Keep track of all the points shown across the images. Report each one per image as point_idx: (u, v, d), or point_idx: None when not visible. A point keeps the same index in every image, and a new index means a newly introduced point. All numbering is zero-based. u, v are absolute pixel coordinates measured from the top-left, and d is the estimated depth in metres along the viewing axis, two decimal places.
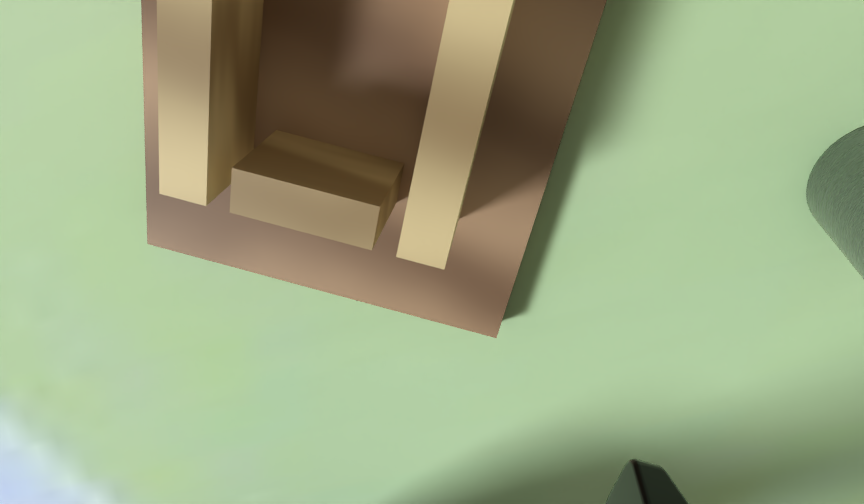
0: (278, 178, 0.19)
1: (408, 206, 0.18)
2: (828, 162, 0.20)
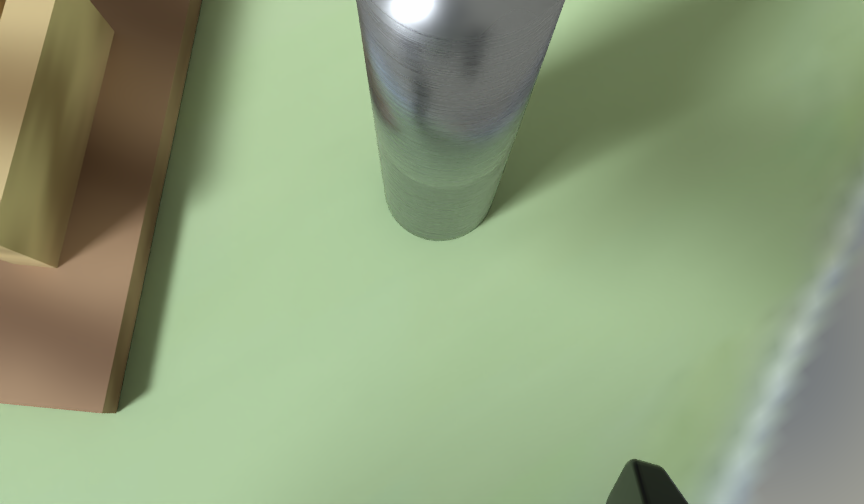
0: None
1: None
2: None
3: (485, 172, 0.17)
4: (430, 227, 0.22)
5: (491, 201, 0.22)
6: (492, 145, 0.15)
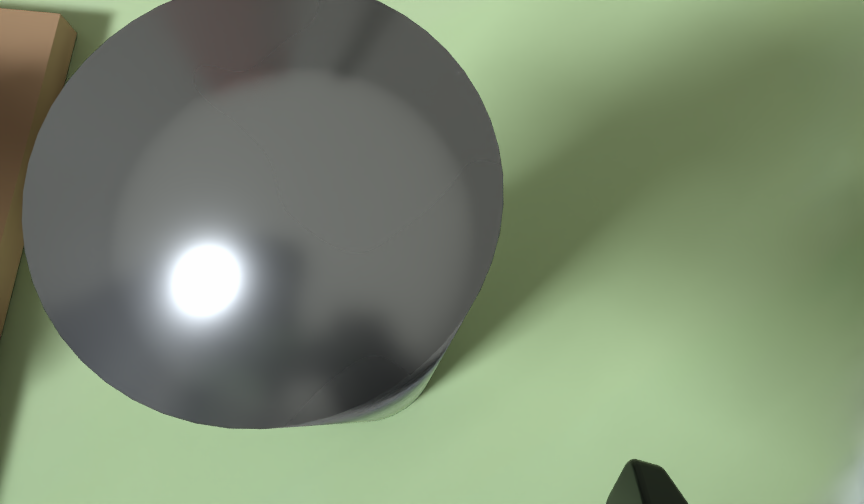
0: None
1: None
2: None
3: (400, 405, 0.12)
4: None
5: None
6: (397, 403, 0.10)
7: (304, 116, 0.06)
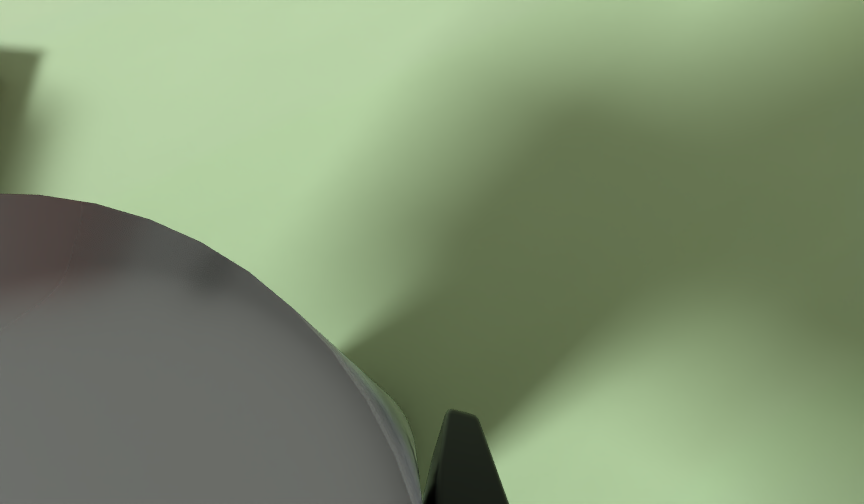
0: None
1: None
2: None
3: None
4: None
5: None
6: None
7: None
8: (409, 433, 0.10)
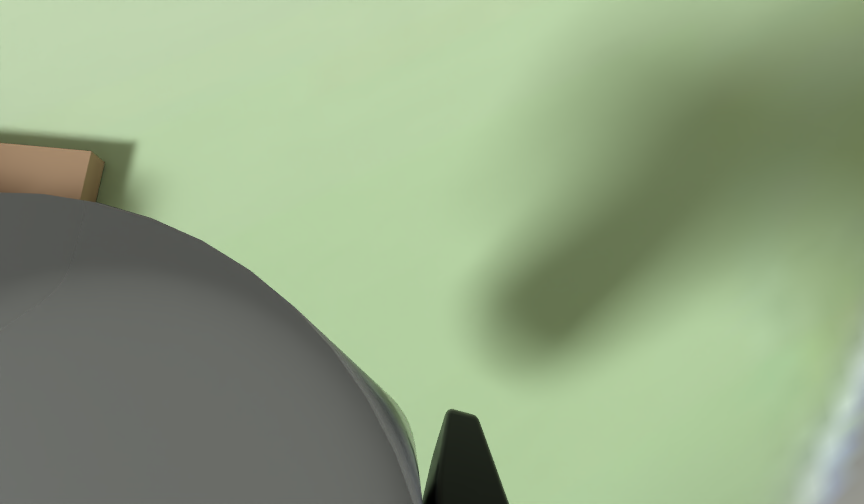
0: None
1: None
2: None
3: None
4: None
5: None
6: None
7: None
8: (409, 432, 0.10)
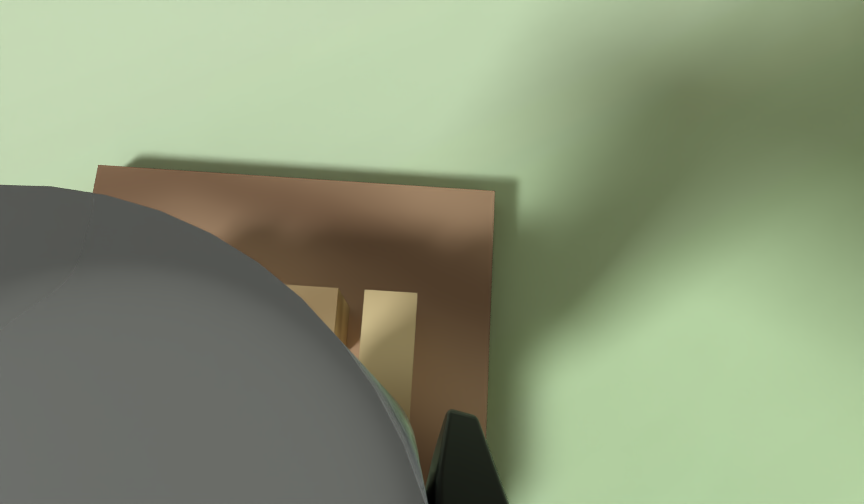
0: None
1: None
2: None
3: None
4: None
5: None
6: None
7: (27, 501, 0.03)
8: (411, 430, 0.10)
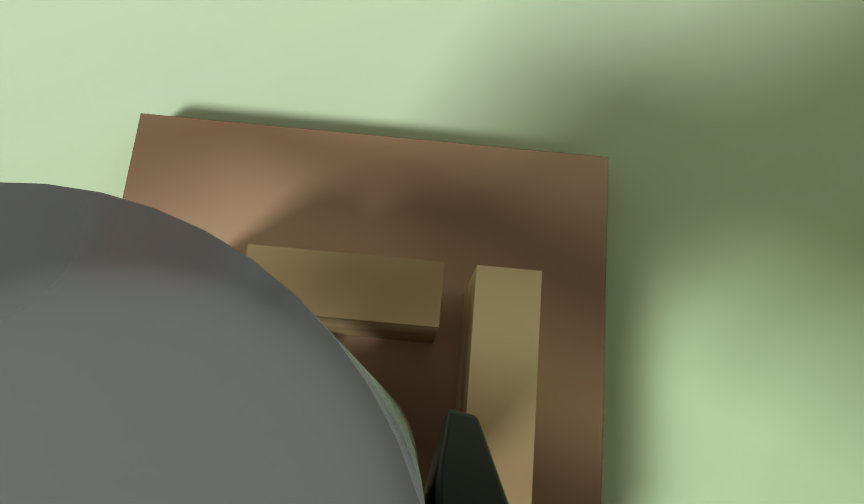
0: None
1: None
2: None
3: None
4: None
5: None
6: None
7: (23, 499, 0.03)
8: (410, 430, 0.10)
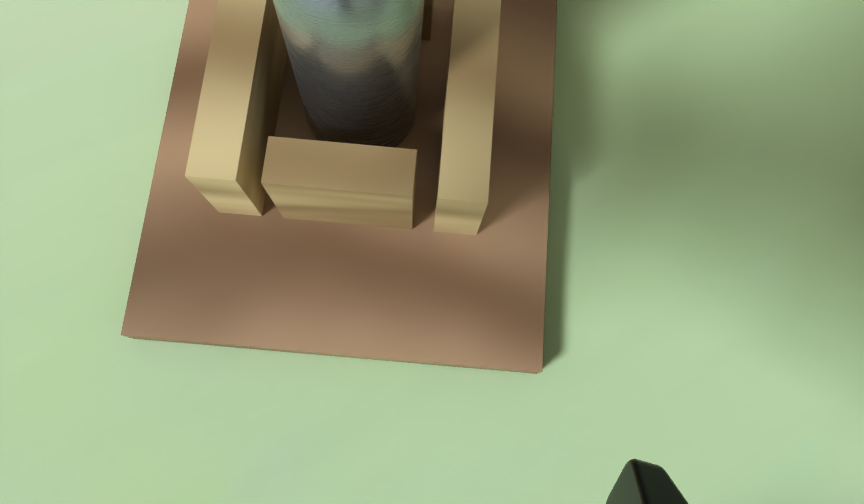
0: (314, 142, 0.19)
1: (444, 144, 0.19)
2: None
3: (389, 60, 0.17)
4: (348, 138, 0.21)
5: (410, 113, 0.22)
6: (388, 18, 0.15)
7: None
8: None
